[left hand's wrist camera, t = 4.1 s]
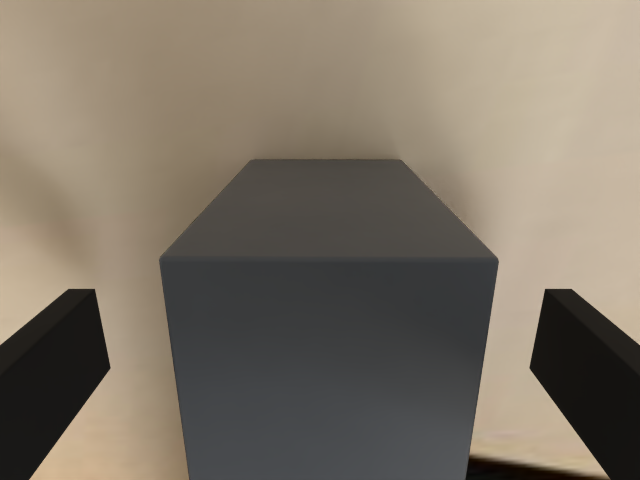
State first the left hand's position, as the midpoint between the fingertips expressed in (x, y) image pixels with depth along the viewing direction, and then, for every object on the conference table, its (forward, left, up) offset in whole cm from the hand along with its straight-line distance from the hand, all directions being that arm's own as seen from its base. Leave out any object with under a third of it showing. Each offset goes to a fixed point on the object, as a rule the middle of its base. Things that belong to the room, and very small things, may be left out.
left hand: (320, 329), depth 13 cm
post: (+14, +15, -3) cm, 21 cm away
